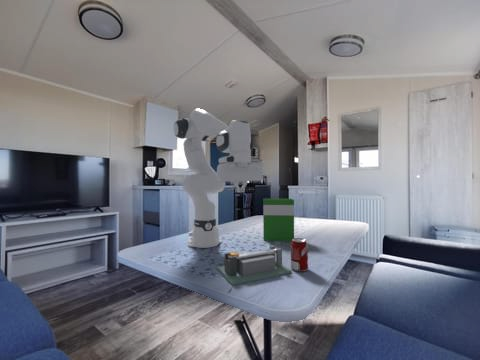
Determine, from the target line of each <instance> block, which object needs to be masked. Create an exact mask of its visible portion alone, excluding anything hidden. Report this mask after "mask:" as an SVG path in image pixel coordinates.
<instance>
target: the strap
mask: <svg viewBox="0 0 480 360" xmlns="http://www.w3.org/2000/svg"><path fill="white" fill-rule="evenodd" d="M276 249H277V248H276V247H275V248H273V249H270V248H269V249H264V250H263V249H262V250H261V251H260V250H254V251H255V252H254V251H250V252H249V251H248V253H247V252H242V253H239V252H237V251H233V252H230V253H229V252H228V253H229V255H228V258H229V257H232V256H236V259H240V258H247V257H253V256H259V255H266V254H272V253H275V254H276Z"/></svg>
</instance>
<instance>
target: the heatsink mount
mask: <svg viewBox="0 0 480 360" xmlns="http://www.w3.org/2000/svg"><path fill="white" fill-rule="evenodd" d="M273 248H275V249H276V253H272V254H266V255H259V256H253V257H247V258H240V259H236V256H232V257H229V258H228V255H229V253H231V252H225V253H224V265H220V266H217V268H216V269H217V270H218V271H219V273H220V274H221V275H222V276H223V277H224V278H225V279H226V280H227V281H228V282H229V284H231V285H232V286H235V285H236V286H237V285H240V284H244V283H249V282H254V281H255V282H256V281H260V280H264V279H268V278H273V277H278V276H282V275H288V274H292V272H293V271H292V270H293V269H292V268H291V269H290V268H288V267H287V266H285V265H283V249H282V248H280V247H279V248H276V245H269V249H273ZM255 251H256V250H254V251H253V252H255ZM259 251H261V250H259ZM248 252H249V251H248ZM248 252H246V253H248Z"/></svg>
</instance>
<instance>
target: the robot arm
mask: <svg viewBox="0 0 480 360" xmlns="http://www.w3.org/2000/svg"><path fill="white" fill-rule="evenodd" d="M173 133H174V135H175V137H176V138H178V139H185V140H184V141H183V152H184V156H185V160H186V162H187V166H188V168H189V170H190V171H191V172H192V173H194V174H190V175H187V176H185V177H184V179H183V181H182V188H183V190H184V192H185V193H186V194H187V195H188V196H189V197H190V198H191V200H192V202H193V205H194V216H195V217H194V221H193V228H192V229H191V231H190V232H188V235H189V236H188V238H187V244H188V246H187V247H190V248H199V249H201V248H202V249H203V248H205V249H207V248H214V247H216V246H218V245H219V244H221V243H222V239H220V232H219V231H220V230H219V228H218V227H217V218H216V205H215V204H214V202H213V201H211V200H209V197H208V195H209V194H211V195H212V194H217V193H221V192H223V191H224V189H225V188H226V182H233V185H234V186H235V189H236V193H245V190H246V189H245V188H246V187H247V185H248V182H261V181H263V179H264V171H263V162H262V161H261V160H260V159H252V151H253V149H254V147H255V139H254V136H253V135H252V132H251V126H250V123H249V122H248V121H246V120H239V119H233V120H231V121H230V122H229V124H227V123H225V122H223V121H221V120H220V119H218V118H217V117H216V116H215V115H213V114H212V113H210V112H208V111H206V110H205V109H202V108H201V109H200V108H195V109H193V110H192V111H191V112H190V114H189V117H188V118H185V117H182V118H180V119H177V120H176V121H175V122H174V123H173ZM210 137H213V138H214V137H215V146H216V148H217V150H218V151H219V152H221V153H227V154H228V155H226V156H222V157H220V158H218V163H219V164H218V165H217V167H216V171H215V170H214V168H213V167H212V166H211V165H210V163H209V160H208V159H207V156H206V153H205V151H204V148H203V146H202V141H203V142H206V141H207V139H208V138H210ZM240 182H241V184H242V186H241V187H240V186H239V184H240Z"/></svg>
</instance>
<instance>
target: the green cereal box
mask: <svg viewBox="0 0 480 360" xmlns="http://www.w3.org/2000/svg"><path fill="white" fill-rule="evenodd" d="M262 203H263V206H262V208H263V213H262V214H263V222H262V223H263V225H262V226H263V241H268V242H273V241H274V242H292V241H293V240H292V239H294V238H295V199H294V198H263V202H262Z"/></svg>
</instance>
